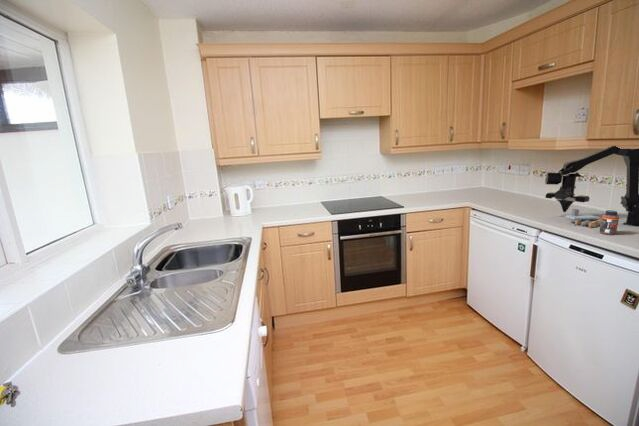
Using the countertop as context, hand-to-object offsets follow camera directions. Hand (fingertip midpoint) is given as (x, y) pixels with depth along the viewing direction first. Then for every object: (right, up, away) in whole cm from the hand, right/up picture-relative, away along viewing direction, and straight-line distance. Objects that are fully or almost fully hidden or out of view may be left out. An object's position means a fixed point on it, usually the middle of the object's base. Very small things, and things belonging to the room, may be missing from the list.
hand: (564, 212), depth 170 cm
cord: (+4, -7, -10) cm, 13 cm away
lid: (+5, -3, -7) cm, 9 cm away
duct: (+6, -7, -9) cm, 13 cm away
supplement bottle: (+1, -11, -24) cm, 27 cm away
